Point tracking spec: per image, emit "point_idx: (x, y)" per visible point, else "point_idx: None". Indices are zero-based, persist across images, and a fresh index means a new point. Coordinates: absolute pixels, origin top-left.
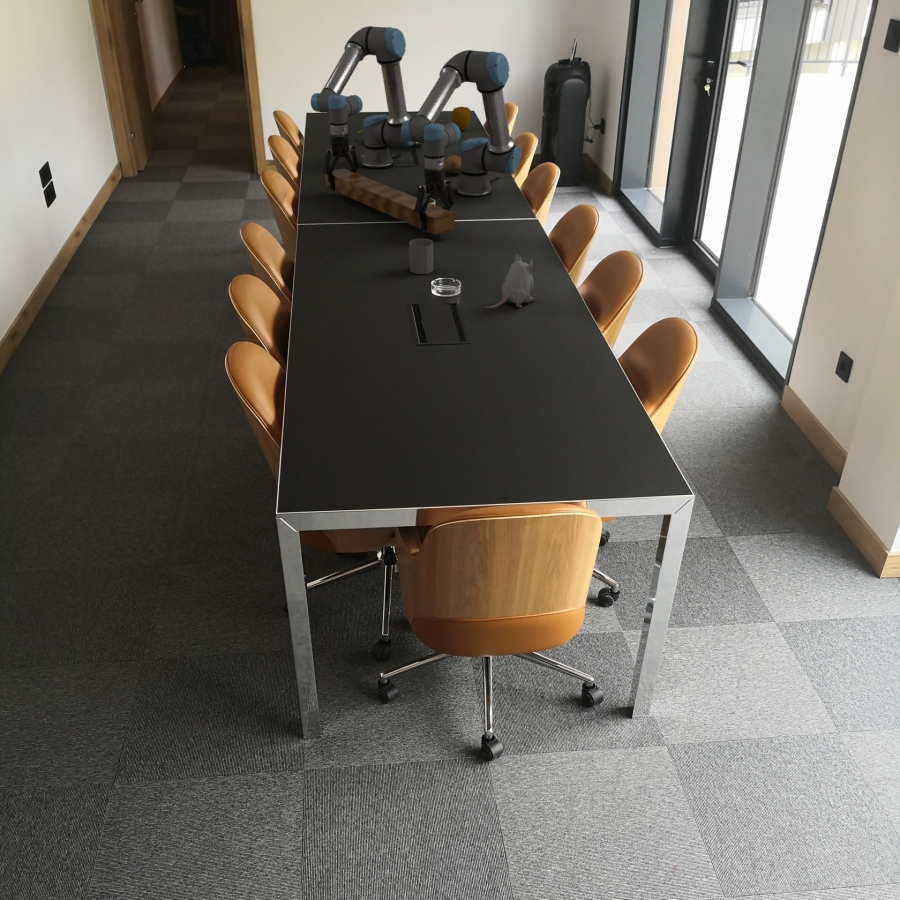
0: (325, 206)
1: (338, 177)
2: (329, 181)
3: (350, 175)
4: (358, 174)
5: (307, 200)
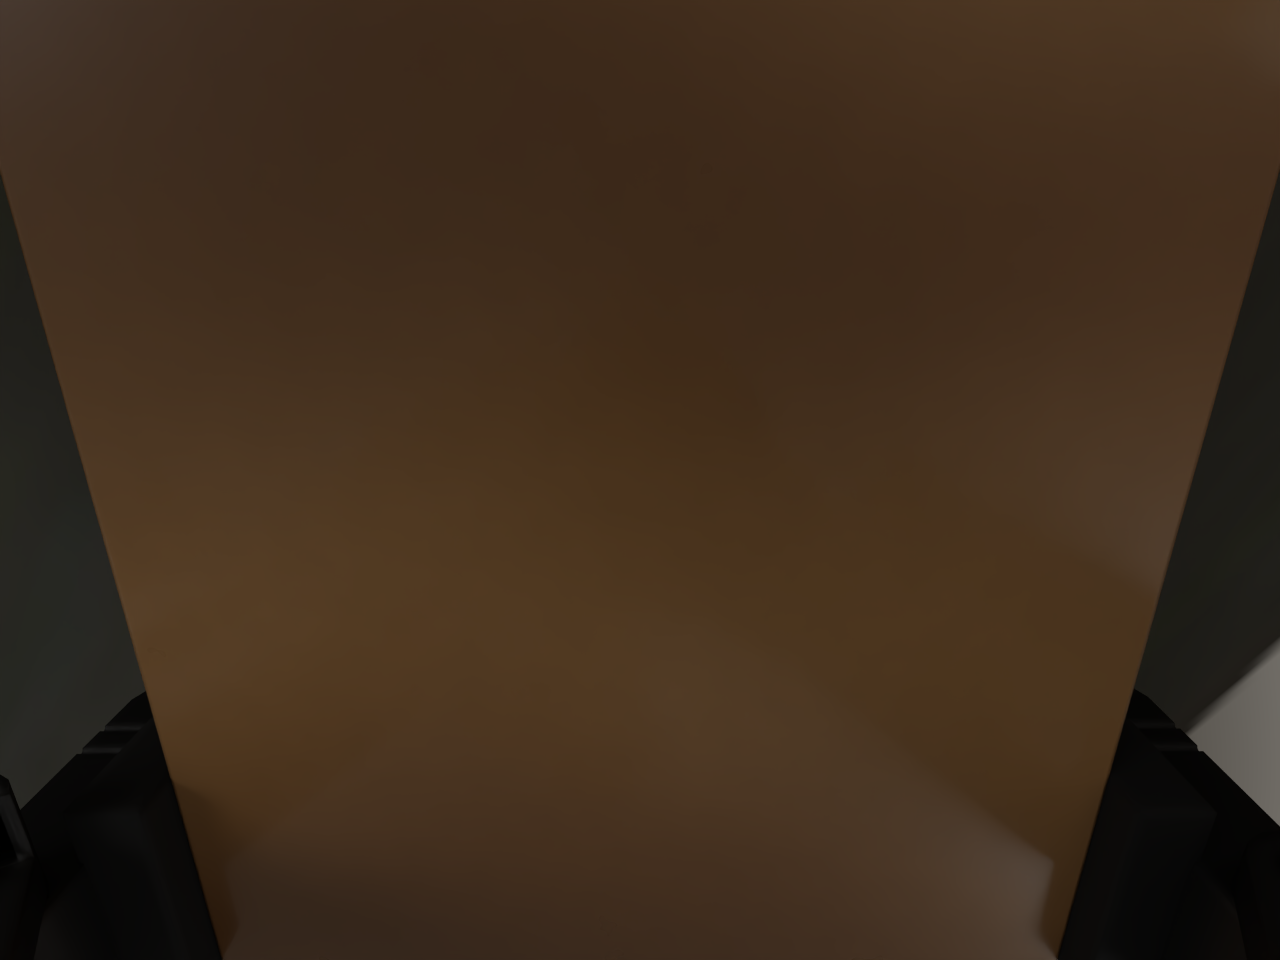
0: (1275, 206)
1: (1168, 472)
2: (1132, 708)
3: (508, 416)
4: (60, 321)
5: (1202, 695)
